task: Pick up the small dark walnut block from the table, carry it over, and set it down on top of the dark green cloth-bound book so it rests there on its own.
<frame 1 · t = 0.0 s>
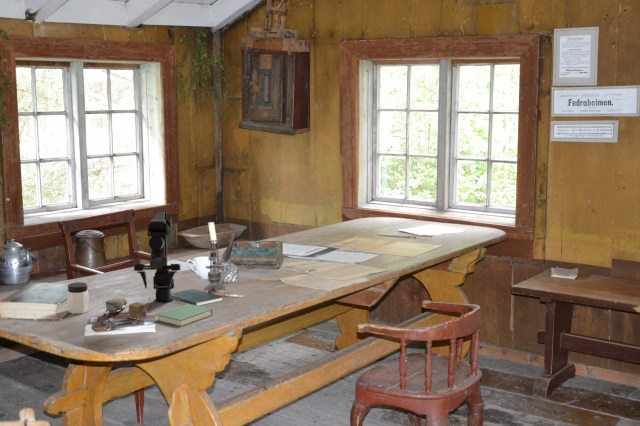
hand: (157, 288, 341), 15 cm above the table, tool pointing down, fingers open, 9 cm apart
jar: (78, 311, 360), on the table
green book: (184, 318, 354), on the table
decorative bird: (116, 313, 358), on the table
walnut block: (137, 317, 353), on the table
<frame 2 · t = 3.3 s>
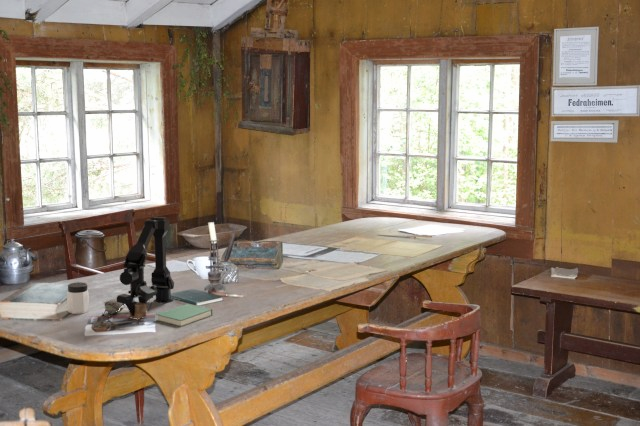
hand: (137, 314, 352), 1 cm above the table, tool pointing down, fingers closed on walnut block, 5 cm apart
walnut block: (137, 317, 353), on the table, touching gripper
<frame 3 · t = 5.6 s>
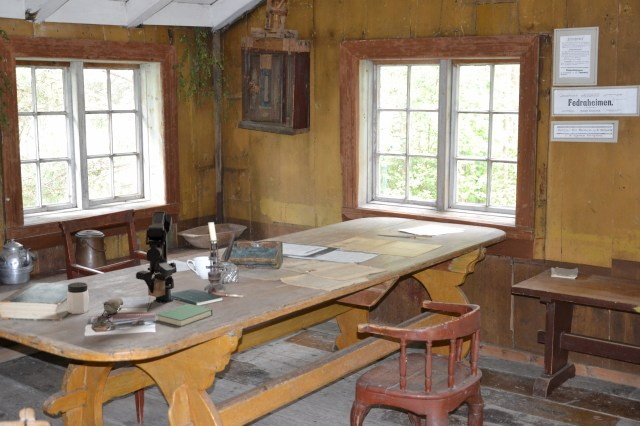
hand: (156, 291, 351), 11 cm above the table, tool pointing down, fingers closed on walnut block, 5 cm apart
walnut block: (156, 294, 351), point 10 cm above the table, touching gripper
when the fingers open (6 cm above the table, at t = 8.1 s): walnut block drops 2 cm, resting on green book.
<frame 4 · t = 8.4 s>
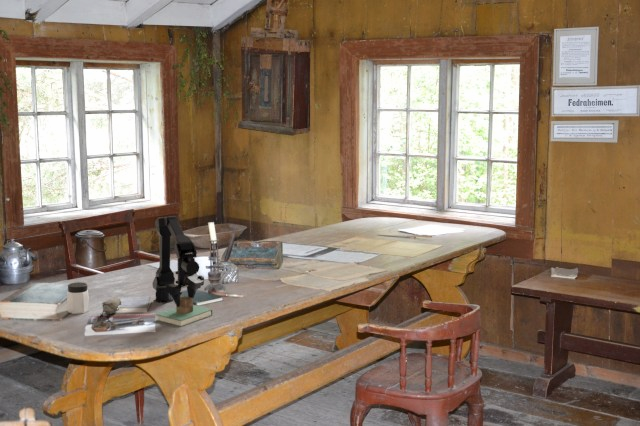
hand: (184, 304, 353), 6 cm above the table, tool pointing down, fingers open, 8 cm apart
green book: (184, 318, 354), on the table, touching walnut block
walnut block: (184, 311, 353), point 3 cm above the table, touching green book
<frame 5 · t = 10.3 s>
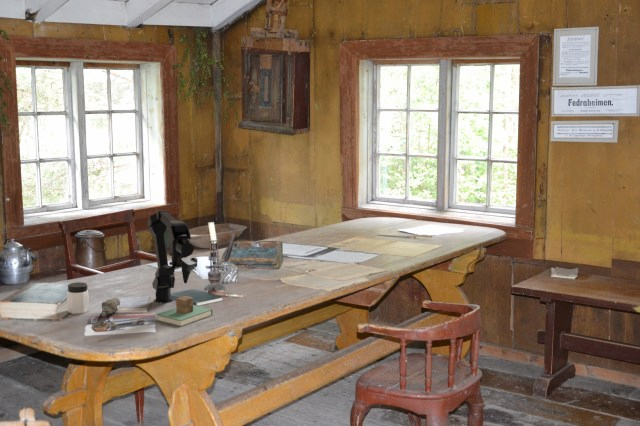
hand: (178, 285, 361), 12 cm above the table, tool pointing down, fingers open, 9 cm apart
green book: (184, 318, 354), on the table
walnut block: (184, 311, 353), point 3 cm above the table
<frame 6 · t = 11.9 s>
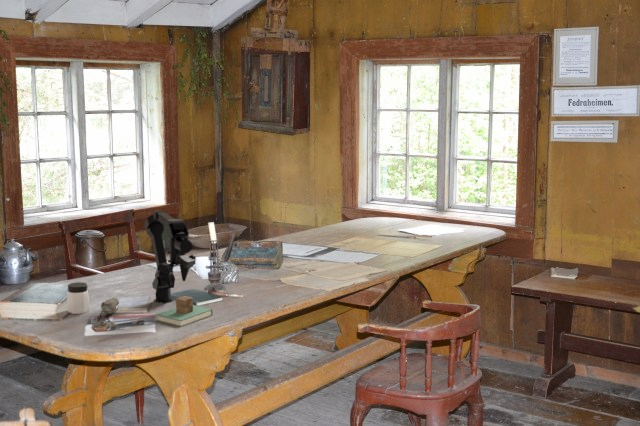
hand: (176, 283, 363), 12 cm above the table, tool pointing down, fingers open, 9 cm apart
green book: (184, 318, 354), on the table, touching walnut block
walnut block: (184, 311, 353), point 3 cm above the table, touching green book
at the end: walnut block inside the target area on the green book (0.0 cm from its centre), point 3.0 cm above the green book's base; walnut block touching green book; walnut block tilted 0° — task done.
